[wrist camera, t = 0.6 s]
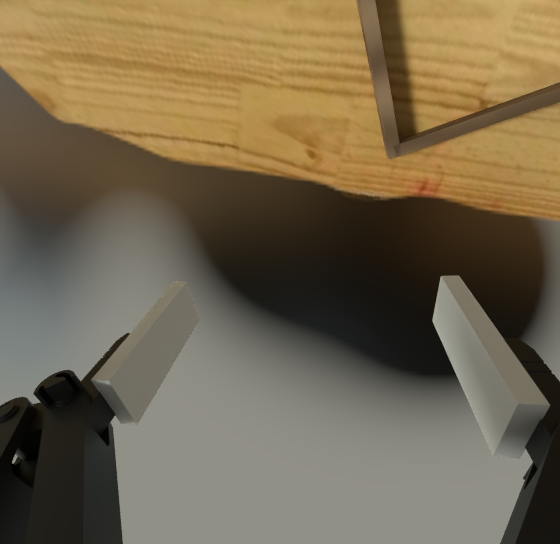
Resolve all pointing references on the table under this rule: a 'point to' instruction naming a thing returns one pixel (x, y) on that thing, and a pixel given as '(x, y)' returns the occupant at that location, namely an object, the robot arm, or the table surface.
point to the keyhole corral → (443, 131)
